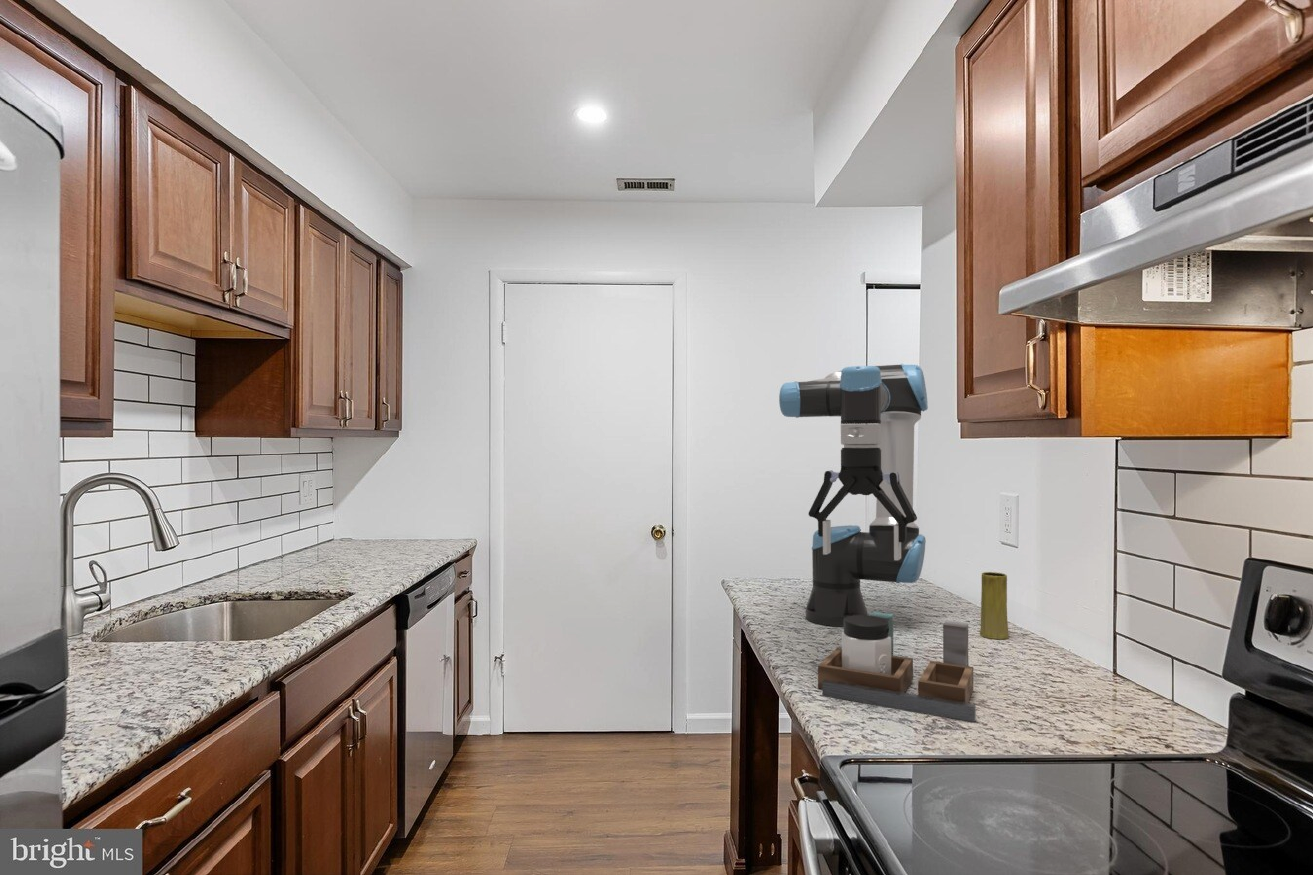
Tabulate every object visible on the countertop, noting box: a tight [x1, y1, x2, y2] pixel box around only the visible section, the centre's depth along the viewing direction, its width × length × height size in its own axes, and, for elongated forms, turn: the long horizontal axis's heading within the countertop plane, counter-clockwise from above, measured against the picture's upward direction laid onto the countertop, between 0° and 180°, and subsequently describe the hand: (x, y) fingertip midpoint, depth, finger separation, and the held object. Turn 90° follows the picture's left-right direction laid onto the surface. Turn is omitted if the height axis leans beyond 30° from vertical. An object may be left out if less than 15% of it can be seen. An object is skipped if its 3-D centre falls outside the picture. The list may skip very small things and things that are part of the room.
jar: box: [841, 615, 891, 675], centre depth 135 cm, size 9×8×12 cm
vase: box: [979, 571, 1010, 640], centre depth 168 cm, size 6×6×14 cm
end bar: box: [821, 680, 977, 723], centre depth 124 cm, size 2×25×2 cm, turn 61°
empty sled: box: [917, 619, 974, 703], centre depth 132 cm, size 21×7×10 cm, turn 151°
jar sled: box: [817, 611, 914, 693], centre depth 139 cm, size 21×14×10 cm
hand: (861, 556), depth 141 cm, fingers open, 13 cm apart
